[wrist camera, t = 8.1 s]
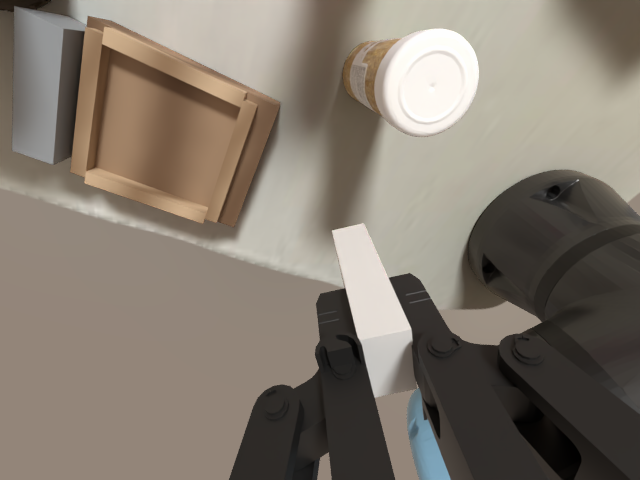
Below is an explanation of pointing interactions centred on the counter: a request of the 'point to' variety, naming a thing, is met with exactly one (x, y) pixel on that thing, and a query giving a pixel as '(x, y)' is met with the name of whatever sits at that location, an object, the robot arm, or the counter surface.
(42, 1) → the pillar candle
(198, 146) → the socket block
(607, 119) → the counter surface
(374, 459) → the robot arm
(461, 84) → the sprinkles bottle
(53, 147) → the backstop wall
